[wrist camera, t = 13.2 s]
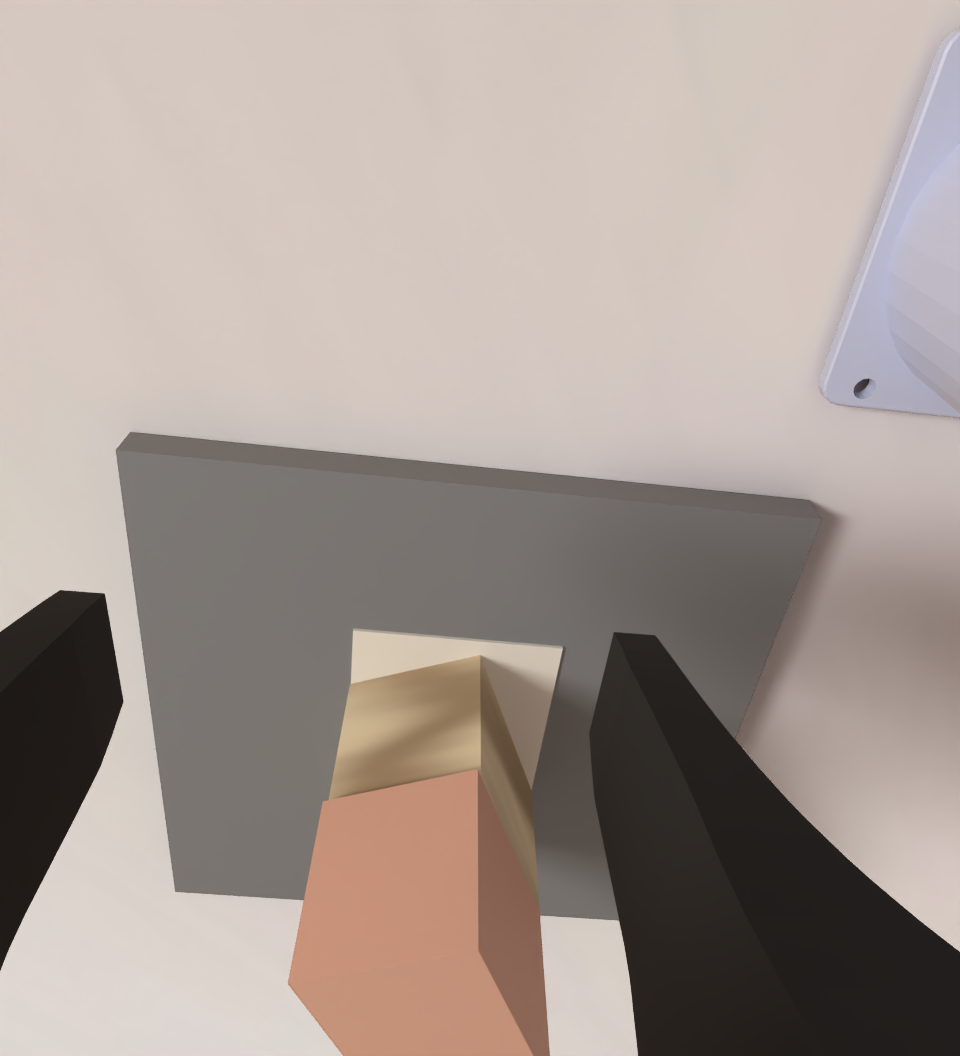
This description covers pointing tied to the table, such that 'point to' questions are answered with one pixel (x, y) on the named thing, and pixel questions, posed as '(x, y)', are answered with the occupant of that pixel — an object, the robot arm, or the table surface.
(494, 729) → the maple brick
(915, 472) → the table surface
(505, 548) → the baseplate
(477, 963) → the terracotta brick
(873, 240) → the robot arm
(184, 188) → the table surface
